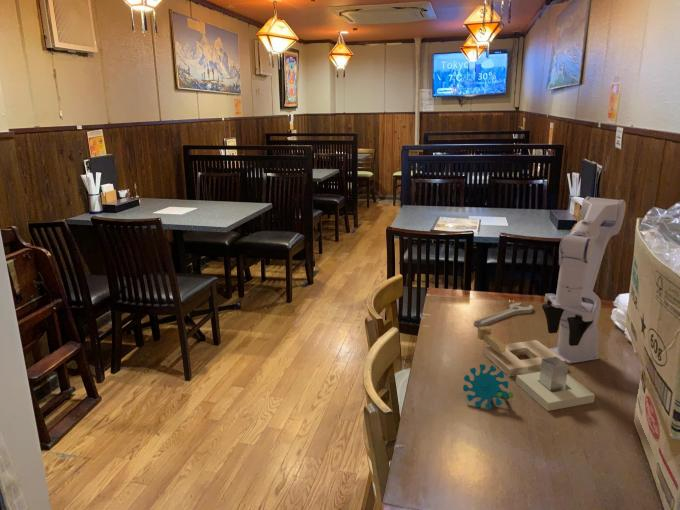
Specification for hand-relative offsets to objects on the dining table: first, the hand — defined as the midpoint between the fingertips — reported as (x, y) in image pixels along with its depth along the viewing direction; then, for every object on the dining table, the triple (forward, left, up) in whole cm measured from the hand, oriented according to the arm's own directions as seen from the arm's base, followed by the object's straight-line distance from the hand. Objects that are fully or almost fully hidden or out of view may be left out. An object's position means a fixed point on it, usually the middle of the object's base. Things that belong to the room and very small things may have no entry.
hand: (562, 338), depth 123 cm
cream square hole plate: (+7, +7, -10) cm, 14 cm away
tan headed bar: (+11, -13, -6) cm, 18 cm away
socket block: (+5, -8, -10) cm, 13 cm away
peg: (+7, +7, -10) cm, 14 cm away
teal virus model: (+23, +6, -10) cm, 26 cm away
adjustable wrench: (-6, -35, -10) cm, 37 cm away
